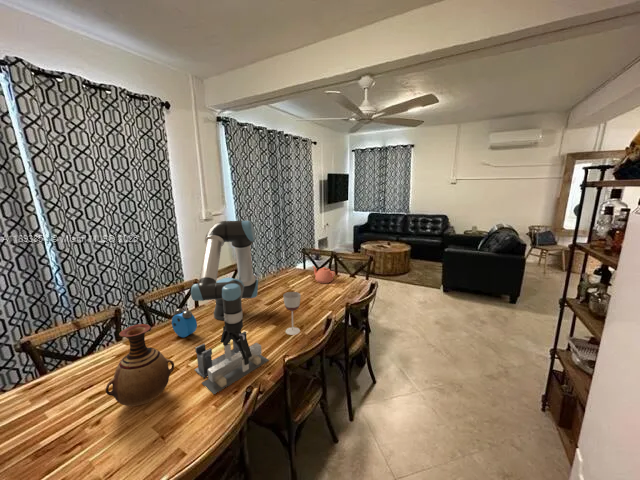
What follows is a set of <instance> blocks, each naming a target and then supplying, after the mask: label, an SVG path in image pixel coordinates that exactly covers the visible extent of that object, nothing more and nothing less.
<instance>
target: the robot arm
mask: <svg viewBox="0 0 640 480" xmlns="http://www.w3.org/2000/svg"><path fill="white" fill-rule="evenodd" d="M255 234H256V233H255V228H254V225H253V223H252V221H250V220H243V219H241V220H222V221H219V222H217V223H215V224H214V225H212V227H210V229H208V231H207V233H206V235H205V238H204V244H205V248H204V253H203V254H204V255H203V259H202V265H201V270H200V273H199V278H198V283H193V284H192V286H191V289H190V295H191V298H192V300H193V301H195V302H196V301H199V302H201V301H202V302H204V301H210V300H211V301H213V300H214V301H215V307H214V310H213V318H214V319H215V320H218V321H224V326H223V327H222V330H223V331H222V335H221V338H220V343H221V344H222V346H223V349H224V354H225V359H227V358H229V357H231V350H232V349H231V341H232V342H233V341H234V342H235V344H237V345H238V348H239V350H240V352H241V354H242V370H243V372H245V371H246V370H248V369H249V358H250V357H252V354H251V351H250V348H249V346H250V345H249V342H248V339H247V333H246V334H244V335H243V334H242V333H243V332H242V329H243V327H244V322H243V319H244V318H243V317H244V316H243V306H242V305H243V304H242V299H253V298H257V296H258V290H259V279H257V278H256V276H255V275H254V272H253V262H252V250H251V246H252V245H253V242H254V241H255V240H256V235H255ZM225 243H231V245H232V247H234V249H235V257H236V267H237V278H233V277H223V278H221V279H218V274H219V273H218V272H219V265H220V259H221V252H222V247H223V246H224V244H225ZM238 340H240V341H238Z"/></svg>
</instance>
